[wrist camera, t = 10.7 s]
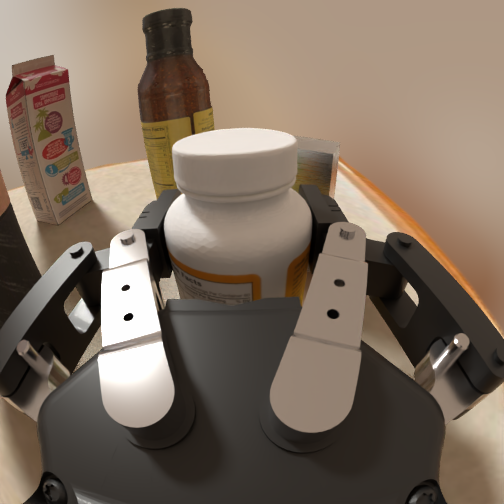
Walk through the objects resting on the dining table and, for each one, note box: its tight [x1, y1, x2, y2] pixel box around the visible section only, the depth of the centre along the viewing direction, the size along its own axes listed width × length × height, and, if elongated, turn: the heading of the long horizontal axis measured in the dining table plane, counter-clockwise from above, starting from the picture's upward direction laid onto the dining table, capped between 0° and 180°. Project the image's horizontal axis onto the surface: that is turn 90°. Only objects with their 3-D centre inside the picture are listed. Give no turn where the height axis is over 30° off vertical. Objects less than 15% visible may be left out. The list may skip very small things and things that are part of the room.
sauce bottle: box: [138, 8, 214, 199], centre depth 20 cm, size 6×6×20 cm
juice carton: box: [6, 55, 92, 225], centre depth 23 cm, size 7×7×22 cm
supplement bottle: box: [164, 128, 312, 306], centre depth 11 cm, size 5×5×10 cm
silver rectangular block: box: [291, 136, 340, 272], centre depth 17 cm, size 3×5×8 cm, turn 66°
